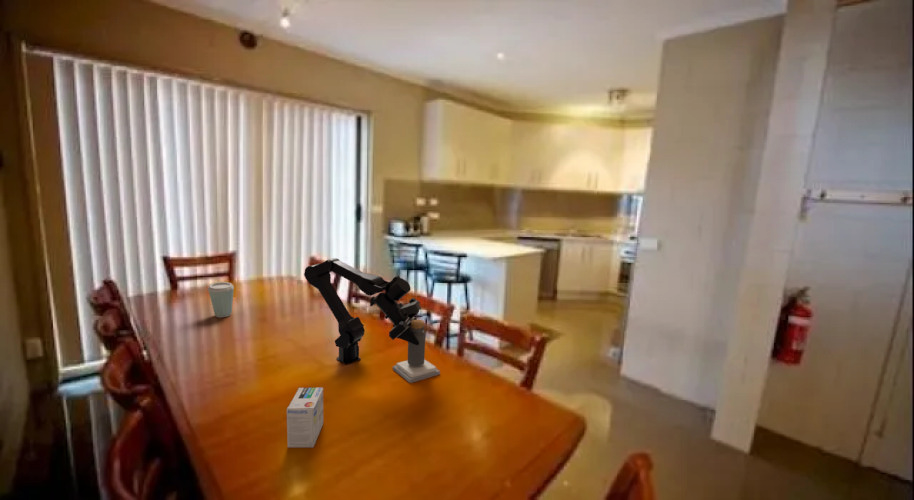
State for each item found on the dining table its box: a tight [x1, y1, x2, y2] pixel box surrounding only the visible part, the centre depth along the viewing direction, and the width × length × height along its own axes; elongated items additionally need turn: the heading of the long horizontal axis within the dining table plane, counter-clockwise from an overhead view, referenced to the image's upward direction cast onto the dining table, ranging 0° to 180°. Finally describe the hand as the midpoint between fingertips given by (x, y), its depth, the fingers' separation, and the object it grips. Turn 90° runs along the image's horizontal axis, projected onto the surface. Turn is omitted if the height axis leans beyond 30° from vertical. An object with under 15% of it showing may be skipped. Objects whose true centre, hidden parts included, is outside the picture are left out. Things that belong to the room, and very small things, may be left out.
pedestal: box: [392, 358, 441, 384], centre depth 147 cm, size 12×12×2 cm
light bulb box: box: [286, 387, 324, 448], centre depth 108 cm, size 11×7×11 cm, turn 5°
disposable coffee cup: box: [207, 281, 235, 318], centre depth 193 cm, size 11×11×15 cm
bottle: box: [407, 319, 426, 366], centre depth 145 cm, size 6×6×15 cm
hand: (420, 341), depth 145 cm, fingers closed on bottle, 6 cm apart
